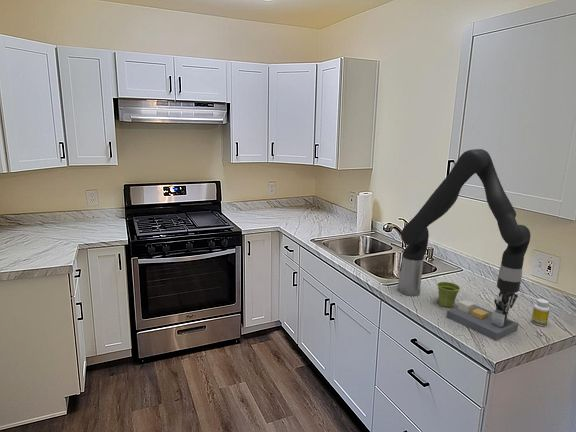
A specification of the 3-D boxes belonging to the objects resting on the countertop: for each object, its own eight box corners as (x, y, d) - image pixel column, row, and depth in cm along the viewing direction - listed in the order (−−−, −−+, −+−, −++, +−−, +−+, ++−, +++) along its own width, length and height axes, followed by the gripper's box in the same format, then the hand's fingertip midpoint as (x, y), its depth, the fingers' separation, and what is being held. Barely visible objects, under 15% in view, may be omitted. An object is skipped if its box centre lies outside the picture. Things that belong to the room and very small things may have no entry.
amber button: (470, 319, 159) (471, 310, 158) (476, 317, 161) (478, 308, 160) (480, 324, 155) (482, 315, 154) (487, 321, 157) (488, 312, 156)
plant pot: (462, 306, 172) (465, 288, 170) (447, 310, 167) (449, 291, 165) (445, 298, 180) (447, 280, 178) (430, 301, 175) (432, 283, 173)
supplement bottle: (547, 327, 155) (552, 304, 153) (532, 324, 157) (536, 302, 155) (544, 321, 160) (549, 299, 158) (529, 318, 162) (533, 296, 160)
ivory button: (457, 310, 163) (458, 302, 162) (463, 308, 165) (465, 299, 165) (467, 315, 159) (468, 306, 158) (473, 312, 162) (475, 303, 161)
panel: (446, 317, 162) (447, 310, 161) (467, 308, 170) (468, 302, 169) (496, 340, 145) (497, 333, 144) (517, 330, 153) (518, 322, 152)
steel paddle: (490, 322, 151) (493, 308, 150) (492, 321, 152) (495, 307, 151) (501, 327, 148) (503, 312, 146) (503, 326, 149) (505, 311, 147)
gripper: (509, 270, 154) (502, 311, 158) (490, 277, 147) (483, 319, 151) (529, 277, 148) (521, 319, 152) (510, 284, 141) (503, 328, 145)
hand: (502, 319), depth 152 cm, fingers closed
